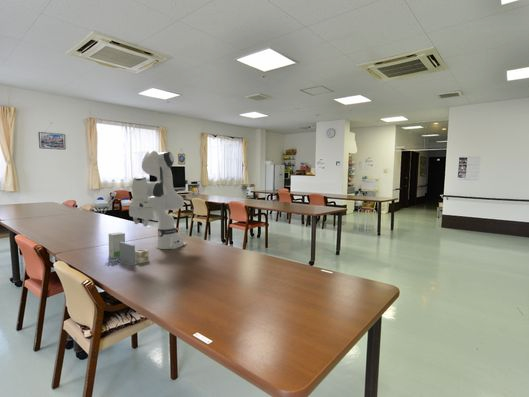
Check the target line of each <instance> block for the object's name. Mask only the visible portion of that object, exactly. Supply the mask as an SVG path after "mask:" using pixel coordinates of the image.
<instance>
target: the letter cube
mask: <svg viewBox="0 0 529 397" xmlns="http://www.w3.org/2000/svg"><path fill="white" fill-rule="evenodd" d="M149 254H150V253H149V250H148V249H145V248H142V249H137V250H136V249H135V261H138V262H142V261H146V260H150V259H149Z"/></svg>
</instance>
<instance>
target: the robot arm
mask: <svg viewBox="0 0 529 397" xmlns="http://www.w3.org/2000/svg"><path fill="white" fill-rule="evenodd" d="M174 158H175V157H174V155H173V154H172V152H170V151H164V152H158V151H155V150H149V151H147V152H146V153H145V155H144V156H143V159H142V162H141V169H142V171H143V172H144V173H145V174H147V175H149V176H154V177H155V178H156V181H148V180H147V177H146V176H145V177H144V176H136V177H134V178H133V179H132V185H131V186H132V187H131V189H132V190H131V191H132V192H131V193H132V201H131V202H130V205H129V206H128V214H129V217H132V219H133V222H134V225H139V220H138V219H142V220H143V221H144V223H143V224H142V225H143V227H147V226H148V223H149V221H150V220H153V218H154V214H155V216H156V218H157V224H158V226H157V227H158V228H157V235H158V236H157V243H156V249H160V250H168V249H171V250H172V249H173V250H175V249H178V248H181V247H184V246H186V245H187V242H185V241H184V237H183V236H182V235H181V234H180V233H178V232H177V231H179V228H178V227H175V218H174V217H173V216H172V215H171V214H168V213H167V212H166V211H168V210H169V211H171V210H172V211H174V210H180V209H182V208H183V206H184V204H185V200H184V197H183V196H182V195H180V194H178V193H177V191H176V190H175V187H174V183H173V182H174V181H173V180H174V179H173V174H172V169H171V168H172V167H173V165H174V162H175V159H174ZM183 245H184V246H183Z"/></svg>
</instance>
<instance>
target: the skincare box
mask: <svg viewBox="0 0 529 397" xmlns="http://www.w3.org/2000/svg"><path fill="white" fill-rule="evenodd" d="M119 242H125V243H126V233H125V232H121V231H119V232H111V233H108V257H109V258H111V259H118V258H120V244H119Z"/></svg>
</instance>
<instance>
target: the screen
mask: <svg viewBox="0 0 529 397" xmlns="http://www.w3.org/2000/svg"><path fill="white" fill-rule="evenodd" d="M119 244H120V257H119V259H116V262H117V263H118V262H119V263H121V264H124V265H127V266H129V267H132V266H136V265H138V264H139V263H138V262H135V251H136V249H135V248H136V245H134V244H131V243H128V242H126V241H125V242H119Z"/></svg>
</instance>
